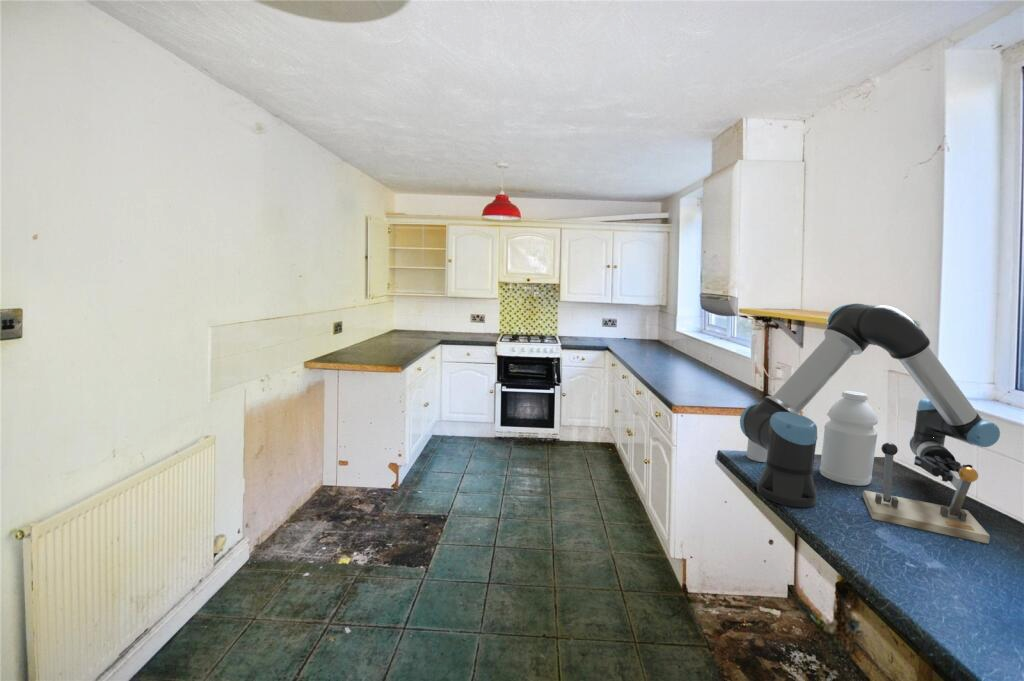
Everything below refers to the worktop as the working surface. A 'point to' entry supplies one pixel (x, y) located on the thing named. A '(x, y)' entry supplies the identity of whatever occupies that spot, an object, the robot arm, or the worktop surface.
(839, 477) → the bottle
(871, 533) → the worktop surface
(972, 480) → the orange knob lever
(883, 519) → the switch board
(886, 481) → the black knob lever
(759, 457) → the milk bottle
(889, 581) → the worktop surface
